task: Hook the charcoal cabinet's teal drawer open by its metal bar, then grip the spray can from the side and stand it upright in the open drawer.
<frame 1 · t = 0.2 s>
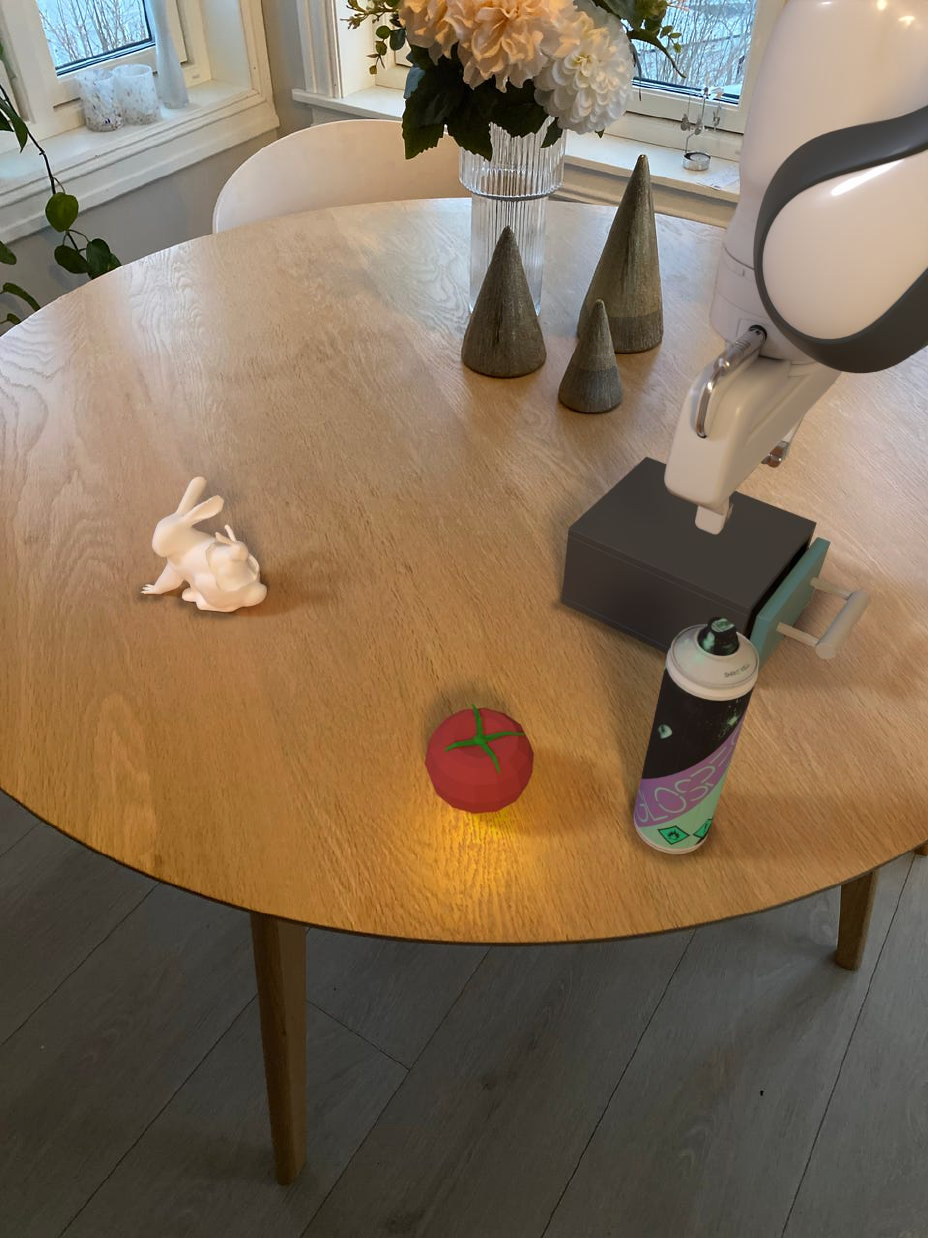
hand: (742, 492, 65), 20 cm above the table, tool pointing down, fingers open, 8 cm apart
rabbit figurine: (217, 586, 89), on the table
cabinet: (677, 599, 88), on the table
drawer: (734, 585, 83), point 4 cm above the table, slide at 0.5 cm
spray can: (670, 824, 70), on the table
tomato: (478, 790, 72), on the table
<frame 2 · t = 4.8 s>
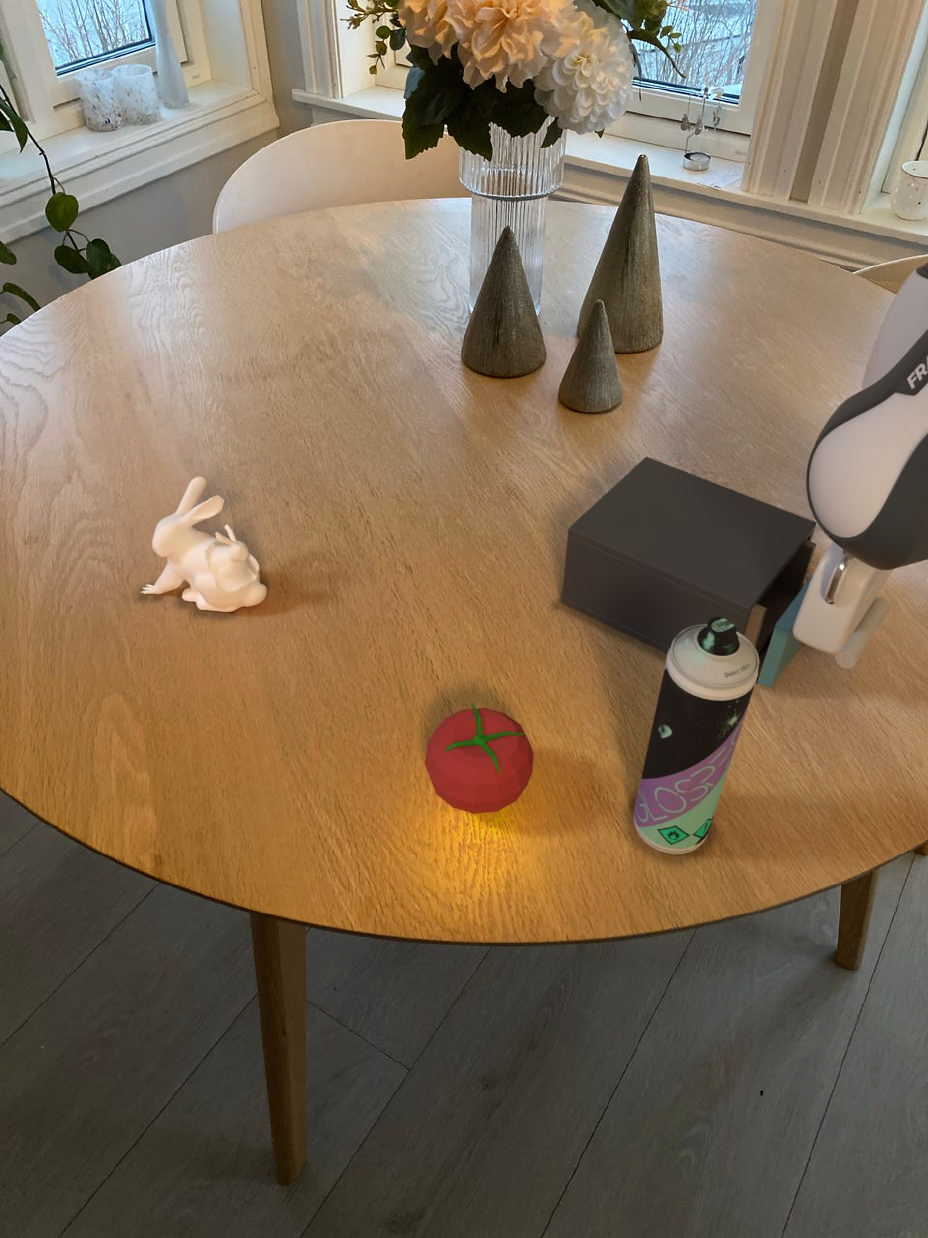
hand: (842, 623, 78), 5 cm above the table, tool pointing down, fingers closed
drawer: (751, 592, 82), point 4 cm above the table, slide at 2.1 cm, touching gripper
everything else where it was.
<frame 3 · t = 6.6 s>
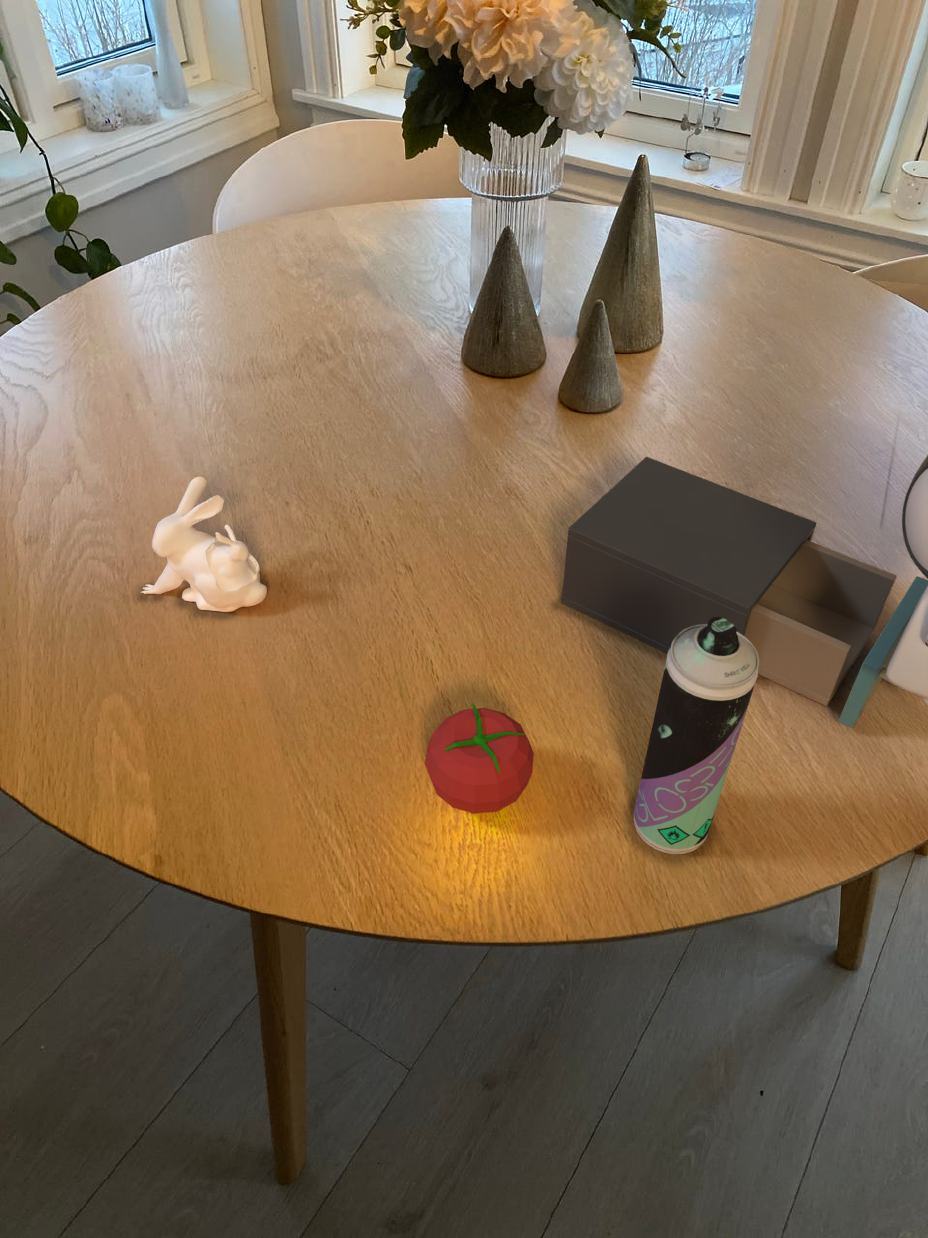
hand: (927, 660, 75), 5 cm above the table, tool pointing down, fingers closed
drawer: (829, 626, 79), point 4 cm above the table, slide at 9.0 cm, touching gripper
everything else where it was.
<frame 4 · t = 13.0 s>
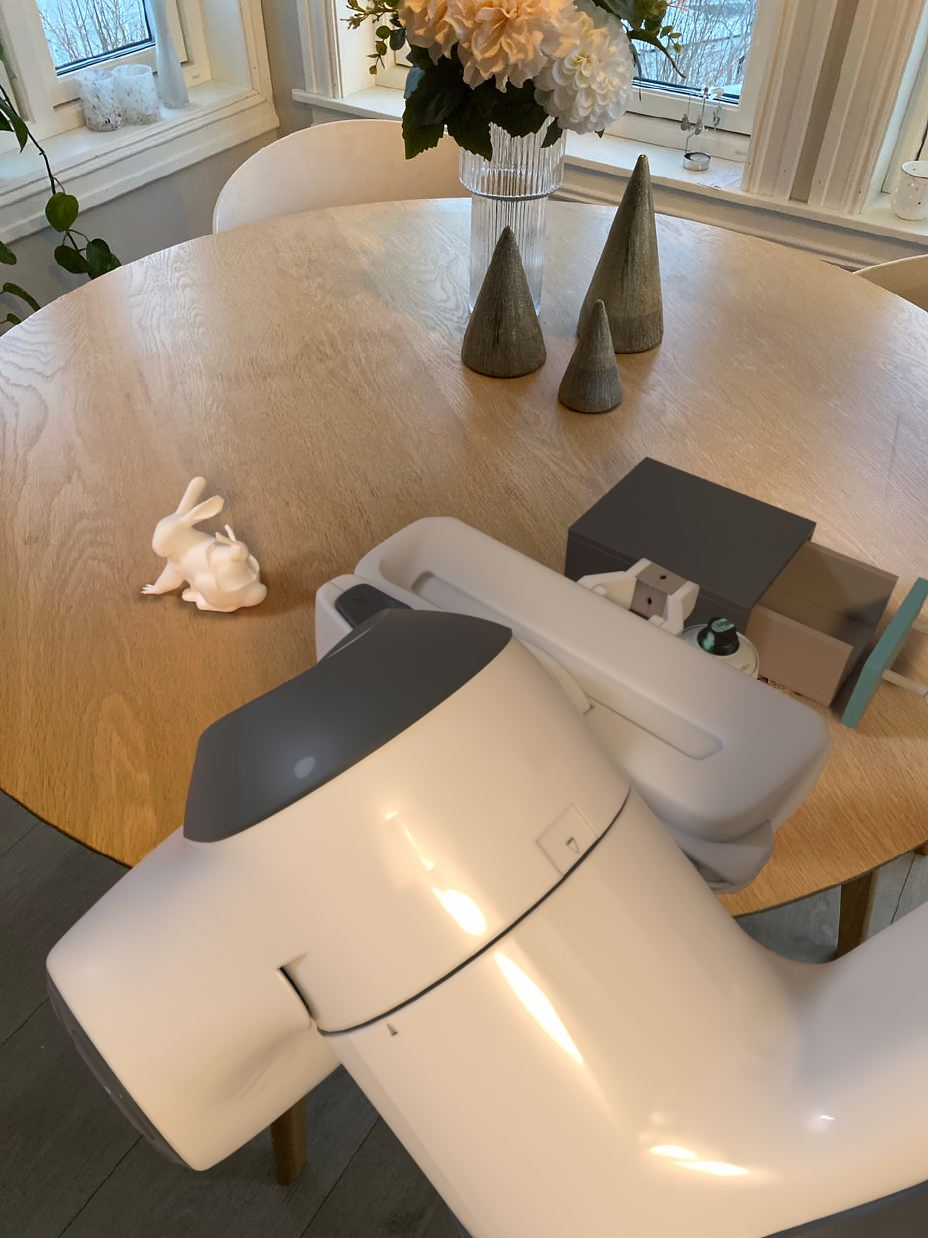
hand: (669, 583, 44), 30 cm above the table, tool horizontal, fingers closed
drawer: (831, 627, 79), point 4 cm above the table, slide at 9.1 cm
everything else where it was.
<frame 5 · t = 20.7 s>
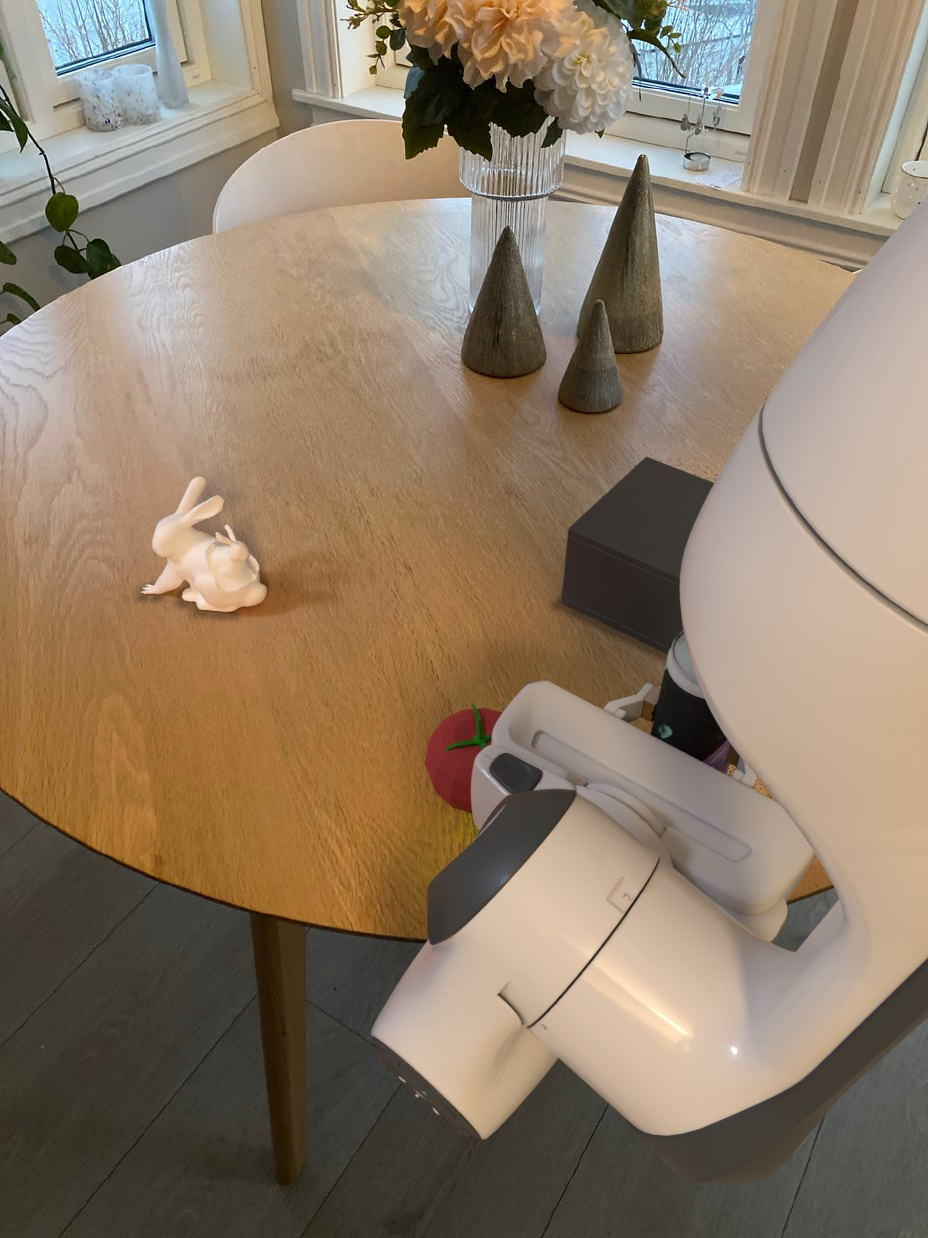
hand: (701, 715, 63), 11 cm above the table, tool horizontal, fingers closed on spray can, 5 cm apart
spray can: (670, 824, 70), on the table, touching gripper
everything else where it was.
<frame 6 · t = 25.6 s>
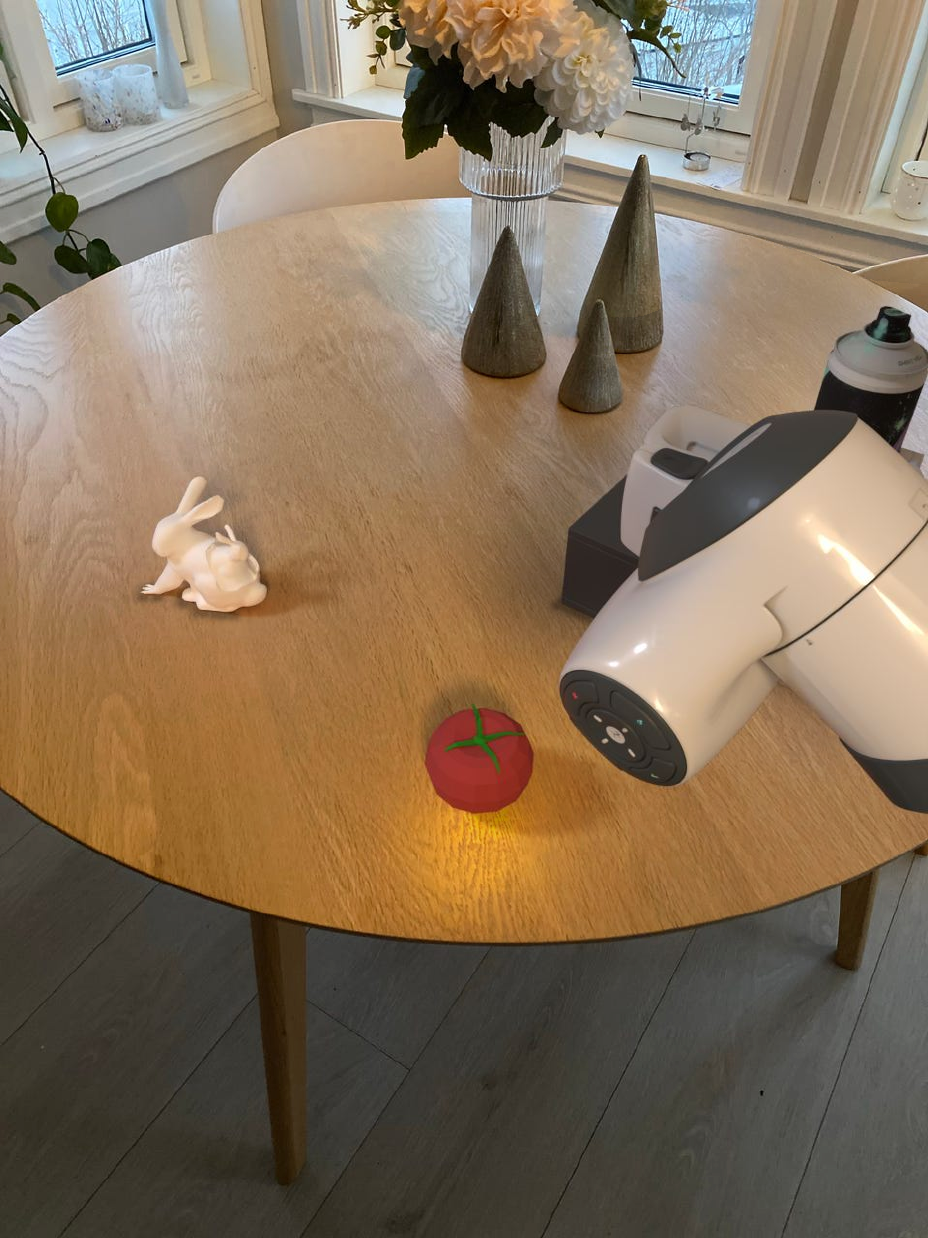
hand: (854, 441, 60), 26 cm above the table, tool horizontal, fingers closed on spray can, 5 cm apart
spray can: (805, 584, 67), point 15 cm above the table, touching gripper
everything else where it was.
when the fingers open (13 cm above the table, at t = 30.9 s): spray can stays where it is, resting on drawer.
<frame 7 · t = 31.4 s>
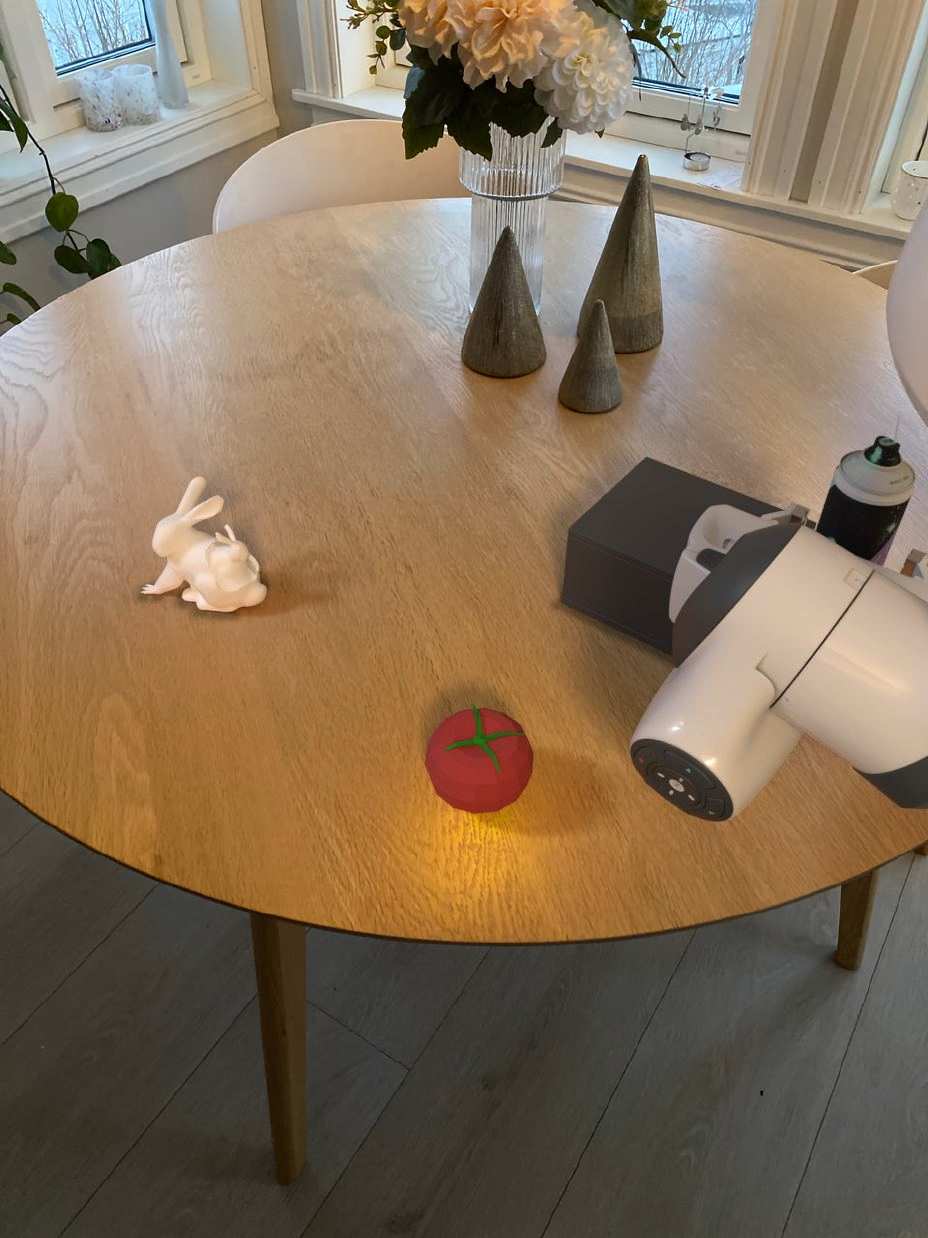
hand: (858, 534, 74), 13 cm above the table, tool horizontal, fingers open, 8 cm apart
drawer: (830, 626, 79), point 4 cm above the table, slide at 9.1 cm, touching spray can
spray can: (813, 645, 81), point 2 cm above the table, touching drawer
everything else where it was.
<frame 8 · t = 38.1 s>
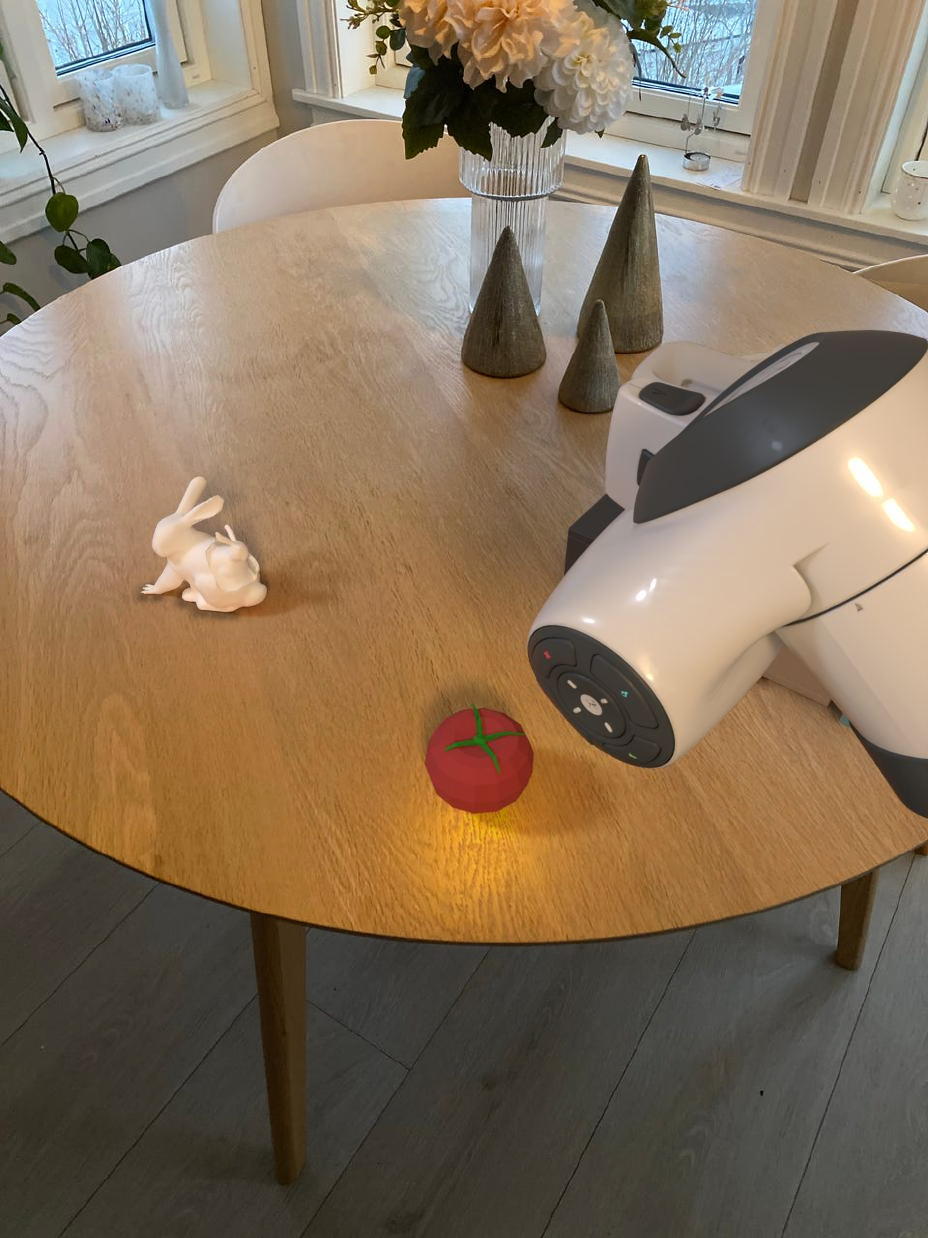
hand: (871, 383, 53), 32 cm above the table, tool horizontal, fingers open, 8 cm apart
nothing on the table moved.
at the end: drawer slide at 9.1 cm; spray can inside the target area in the drawer (0.2 cm from its centre), point 1.8 cm above the cabinet's base; spray can tilted 0° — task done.
